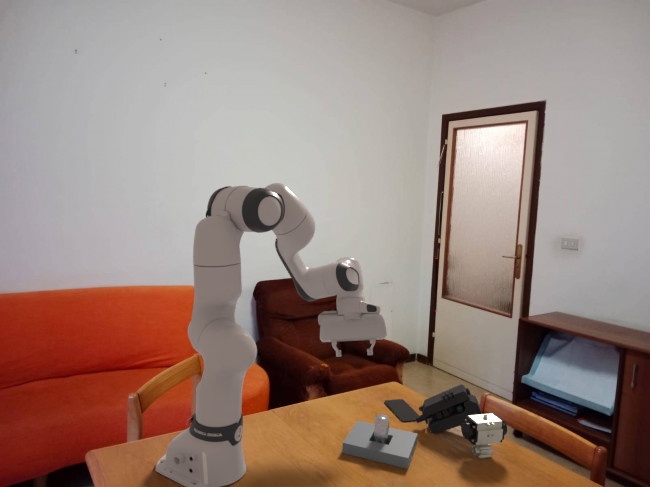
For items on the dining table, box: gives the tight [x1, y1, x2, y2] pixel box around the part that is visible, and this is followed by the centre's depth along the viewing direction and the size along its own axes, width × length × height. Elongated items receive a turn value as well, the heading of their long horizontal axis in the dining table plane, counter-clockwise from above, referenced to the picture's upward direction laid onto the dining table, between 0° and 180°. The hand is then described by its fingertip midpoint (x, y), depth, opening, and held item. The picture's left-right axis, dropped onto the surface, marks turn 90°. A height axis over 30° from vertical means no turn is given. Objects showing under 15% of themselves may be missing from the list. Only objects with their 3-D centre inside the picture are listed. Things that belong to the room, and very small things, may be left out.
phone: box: [383, 398, 420, 423], centre depth 158 cm, size 7×1×15 cm
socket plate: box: [341, 420, 418, 470], centre depth 134 cm, size 18×14×3 cm
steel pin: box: [373, 413, 390, 445], centre depth 133 cm, size 4×4×9 cm
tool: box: [415, 383, 483, 435], centre depth 144 cm, size 6×19×15 cm, turn 78°
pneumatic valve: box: [460, 412, 508, 460], centre depth 131 cm, size 6×12×12 cm, turn 105°
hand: (354, 355), depth 143 cm, fingers open, 8 cm apart
